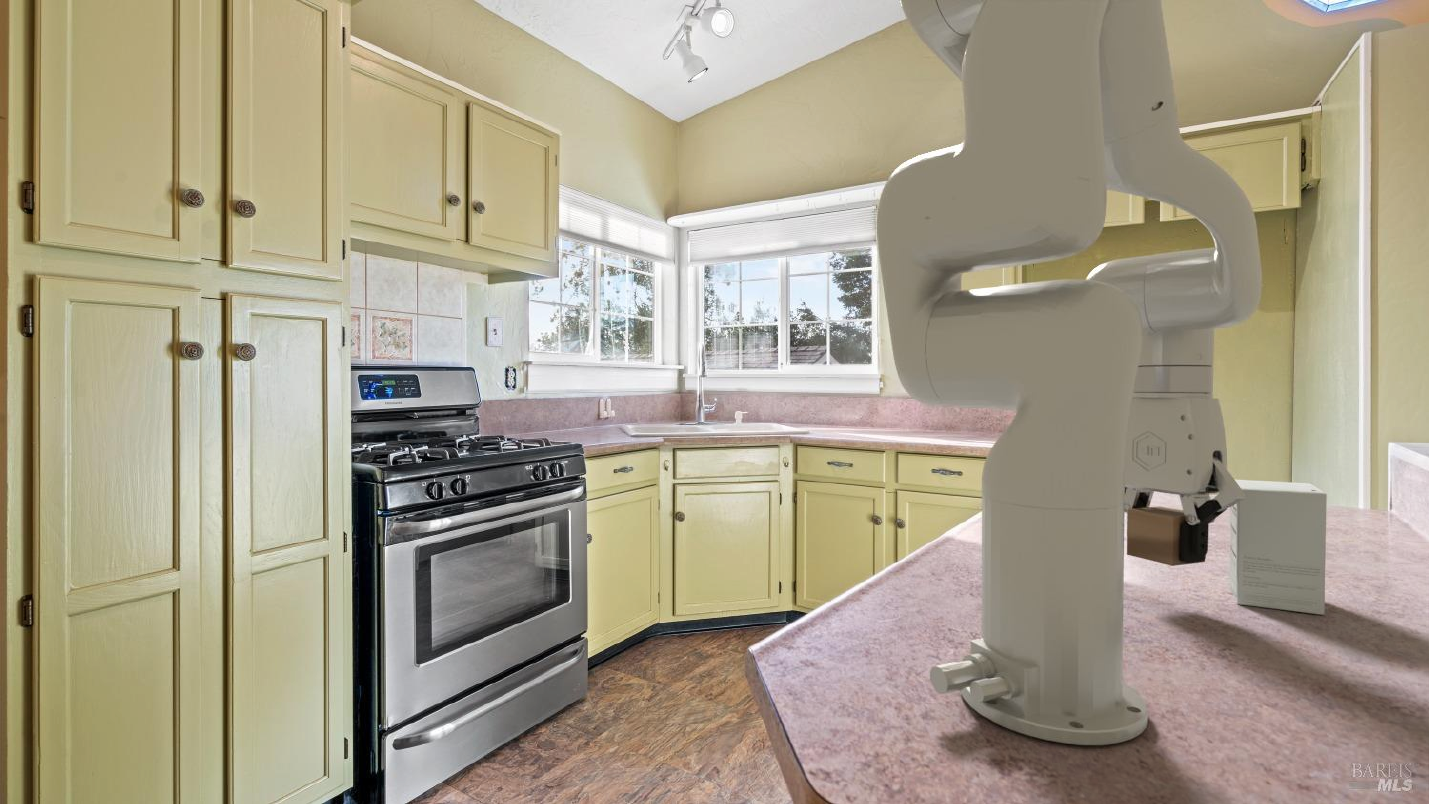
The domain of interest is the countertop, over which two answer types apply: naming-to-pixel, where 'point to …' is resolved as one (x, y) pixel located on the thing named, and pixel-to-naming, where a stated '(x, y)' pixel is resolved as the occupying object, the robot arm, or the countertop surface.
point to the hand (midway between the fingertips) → (1165, 553)
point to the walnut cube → (1155, 534)
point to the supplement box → (1279, 546)
